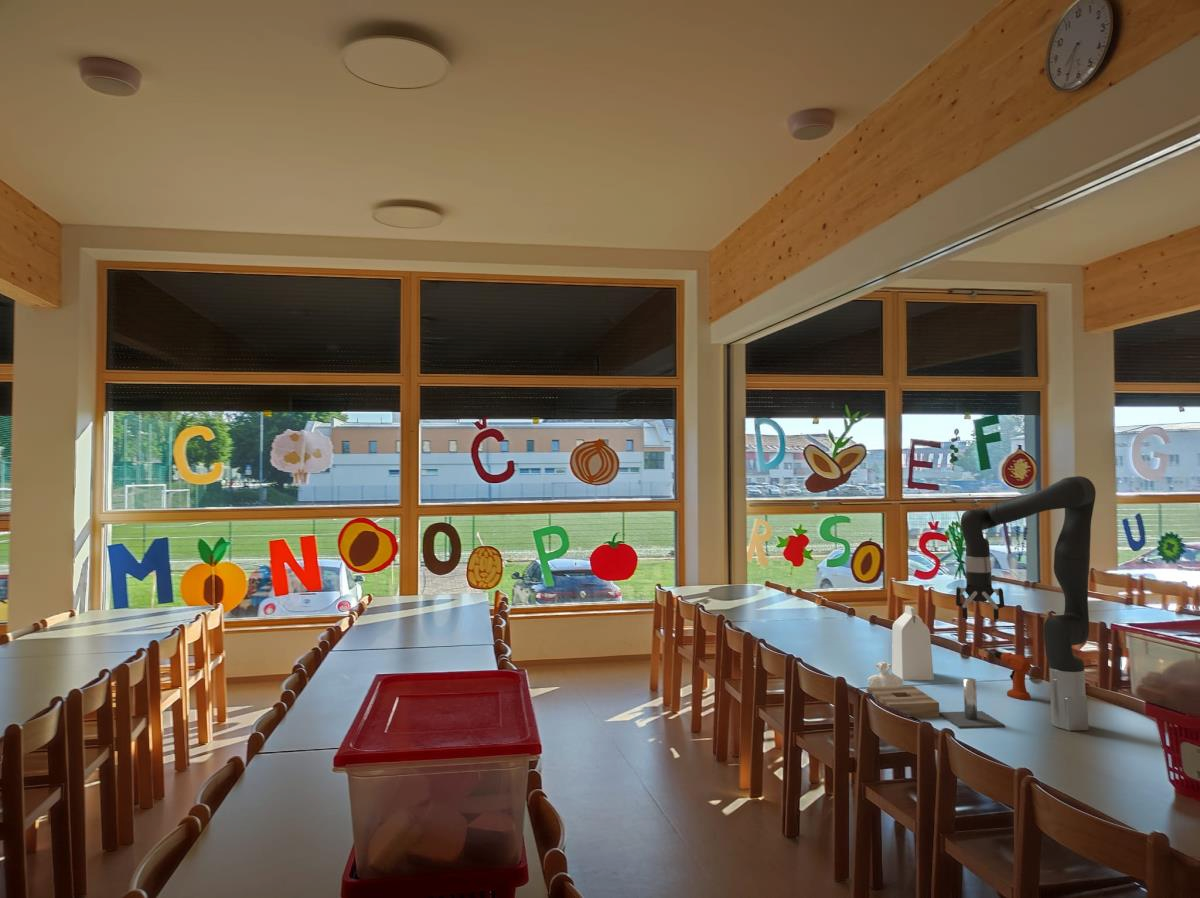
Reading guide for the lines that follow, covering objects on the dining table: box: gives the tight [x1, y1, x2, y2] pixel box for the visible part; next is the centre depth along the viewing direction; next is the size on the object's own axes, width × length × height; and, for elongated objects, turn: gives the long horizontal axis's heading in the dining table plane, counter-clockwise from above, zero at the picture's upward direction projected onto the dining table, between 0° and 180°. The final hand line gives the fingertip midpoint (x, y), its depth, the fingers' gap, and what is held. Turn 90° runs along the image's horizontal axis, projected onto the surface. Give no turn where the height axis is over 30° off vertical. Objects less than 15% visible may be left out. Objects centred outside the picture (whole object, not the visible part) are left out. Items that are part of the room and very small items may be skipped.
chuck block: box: [866, 685, 941, 719], centre depth 259 cm, size 20×16×4 cm
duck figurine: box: [867, 660, 904, 687], centre depth 280 cm, size 12×8×11 cm
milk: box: [891, 605, 935, 681], centre depth 300 cm, size 12×12×26 cm
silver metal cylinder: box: [962, 677, 978, 720], centre depth 245 cm, size 4×4×12 cm
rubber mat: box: [939, 710, 1006, 729], centre depth 245 cm, size 14×14×1 cm
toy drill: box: [983, 648, 1032, 701], centre depth 273 cm, size 5×19×15 cm, turn 22°
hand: (980, 619), depth 258 cm, fingers open, 8 cm apart
